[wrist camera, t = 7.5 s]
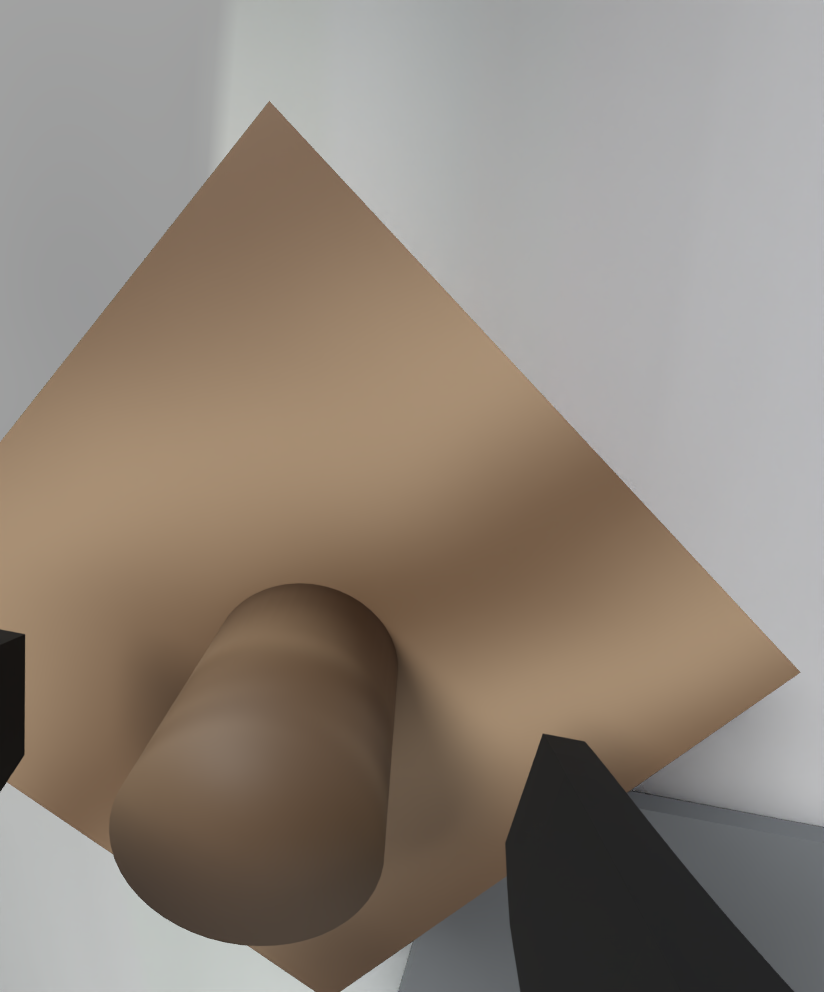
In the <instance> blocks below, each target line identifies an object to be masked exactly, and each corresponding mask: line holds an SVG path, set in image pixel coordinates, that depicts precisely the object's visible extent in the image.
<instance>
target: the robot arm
mask: <svg viewBox="0 0 824 992" xmlns="http://www.w3.org/2000/svg"><path fill="white" fill-rule="evenodd" d="M24 755H25V634H22V633H17V632H12V631H6V630H1V629H0V791H1V790H2V788H3V787H4V785H5V784H6V782H7V781H8V779H9V778H10V776H11V775H12V773H13V772H14V770H15V769H16V767H17V766H18V764H19V763H20V761H21V760H22V758H23V757H24ZM505 850H506V872H507V891H508V907H509V922H510V930H511V936H512V943H513V949H514V956H515V962H516V968H517V974H518V981H519V987H520V992H794V991H793V990H792V989H791V988H790V986H789V985H788V984H787V983H786V982H785V981H784V980H783V979H782V978H781V976H780V975H779V974H778V973H777V972H776V971H775V970H774V969H773V967H772V966H771V965H770V964H769V963H768V962H767V961H766V960H765V959H764V957H763V956H762V955H761V954H760V953H759V952H758V951H757V950H756V948H755V947H754V946H753V945H752V944H751V943H750V942H749V941H748V939H747V938H746V937H745V936H744V935H743V934H742V933H741V932H740V930H739V929H738V928H737V927H736V926H735V925H734V924H733V922H732V921H731V920H730V919H729V918H728V917H727V915H726V914H725V913H724V912H723V911H722V910H721V908H720V907H719V906H718V905H717V904H716V903H715V901H714V900H713V899H712V898H711V897H710V895H709V894H708V893H707V892H706V891H705V890H704V888H703V887H702V886H701V885H700V884H699V882H698V881H697V880H696V879H695V878H694V876H693V875H692V874H691V873H690V871H689V870H688V869H687V868H686V867H685V865H684V864H683V863H682V862H681V860H680V859H679V858H678V857H677V856H676V854H675V853H674V852H673V851H672V849H671V848H670V847H669V846H668V844H667V843H666V842H665V841H664V839H663V838H662V837H661V836H660V834H659V833H658V832H657V831H656V830H655V828H654V827H653V826H652V824H651V823H650V822H649V821H648V819H647V818H646V817H645V816H644V814H643V813H642V812H641V811H640V809H639V808H638V807H637V806H636V804H635V803H634V802H633V800H632V799H631V798H630V797H629V795H628V794H627V793H626V792H625V790H624V789H623V788H622V786H621V785H620V784H619V783H618V781H617V780H616V779H615V778H614V776H613V775H612V774H611V773H610V771H609V770H608V769H607V768H606V766H605V765H604V764H603V763H602V761H601V760H600V759H599V758H598V756H597V755H596V754H595V753H594V752H593V750H592V749H591V748H590V747H589V746H588V744H587V743H586V742H585V741H580V740H575V739H570V738H565V737H559V736H554V735H549V734H544V733H543V734H542V737H541V740H540V743H539V746H538V749H537V752H536V755H535V758H534V760H533V763H532V766H531V769H530V772H529V775H528V778H527V781H526V784H525V787H524V790H523V792H522V795H521V798H520V801H519V804H518V807H517V810H516V813H515V816H514V819H513V822H512V824H511V827H510V830H509V833H508V836H507V839H506V842H505Z"/></svg>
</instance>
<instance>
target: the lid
mask: <svg viewBox="0 0 824 992" xmlns="http://www.w3.org/2000/svg"><path fill="white" fill-rule="evenodd" d="M0 629H1V630H6V631H12V632H17V633H22V634H25V755H24V757H23V758H22V760H21V761H20V763H19V764H18V766H17V767H16V769H15V770H14V772H13V773H12V775H11V776H10V778H9V779H8V781H7V783H9V784H10V785H12V786H13V787H15V788H16V789H18V790H19V791H21V792H22V793H24V794H25V795H27V796H28V797H29V798H31V799H32V800H34V801H35V802H37V803H38V804H40V805H41V806H43V807H44V808H46V809H47V810H49V811H50V812H52V813H53V814H55V815H56V816H57V817H59V818H60V819H62V820H63V821H65V822H66V823H68V824H69V825H71V826H72V827H74V828H75V829H77V830H78V831H80V832H81V833H82V834H84V835H85V836H87V837H88V838H90V839H91V840H93V841H94V842H96V843H97V844H99V845H100V846H102V847H103V848H105V849H106V850H108V851H109V852H110V853H112V854H113V855H114V859H115V861H116V863H117V865H118V867H119V870H120V872H121V873H122V875H123V877H124V878H125V880H126V881H127V883H128V884H129V886H130V887H131V888H132V889H133V890H134V891H135V893H136V894H137V895H138V896H139V897H140V898H141V899H142V900H143V901H144V902H145V903H146V904H147V905H148V906H149V907H151V908H152V909H153V910H155V911H156V912H157V913H159V914H160V915H161V916H163V917H164V918H166V919H168V920H169V921H171V922H173V923H174V924H176V925H178V926H180V927H182V928H184V929H186V930H188V931H191V932H193V933H196V934H198V935H201V936H204V937H207V938H210V939H214V940H218V941H222V942H226V943H232V944H238V945H247V946H249V947H250V948H252V949H253V950H255V951H256V952H258V953H259V954H261V955H262V956H264V957H265V958H267V959H268V960H270V961H271V962H272V963H274V964H275V965H277V966H278V967H280V968H281V969H283V970H284V971H286V972H287V973H289V974H290V975H292V976H293V977H295V978H296V979H298V980H299V981H300V982H302V983H303V984H305V985H306V986H308V987H309V988H311V989H312V990H314V991H315V992H340V991H342V990H343V989H345V988H346V987H348V986H349V985H350V984H352V983H353V982H355V981H356V980H358V979H359V978H361V977H362V976H363V975H365V974H366V973H368V972H369V971H371V970H372V969H374V968H375V967H376V966H378V965H379V964H381V963H382V962H384V961H385V960H386V959H388V958H389V957H391V956H392V955H394V954H395V953H397V952H398V951H399V950H401V949H402V948H404V947H405V946H407V945H408V944H410V943H411V942H412V941H414V940H415V939H417V938H418V937H420V936H421V935H423V934H424V933H425V932H427V931H428V930H430V929H431V928H433V927H434V926H435V925H437V924H438V923H440V922H441V921H443V920H444V919H446V918H447V917H448V916H450V915H451V914H453V913H454V912H456V911H457V910H459V909H460V908H461V907H463V906H464V905H466V904H467V903H469V902H470V901H472V900H473V899H474V898H476V897H477V896H479V895H480V894H482V893H483V892H485V891H486V890H487V889H489V888H490V887H492V886H493V885H495V884H496V883H497V882H499V881H500V880H502V879H503V878H505V877H506V876H507V872H506V850H505V842H506V839H507V836H508V833H509V830H510V827H511V824H512V822H513V819H514V816H515V813H516V810H517V807H518V804H519V801H520V798H521V795H522V792H523V790H524V787H525V784H526V781H527V778H528V775H529V772H530V769H531V766H532V763H533V760H534V758H535V755H536V752H537V749H538V746H539V743H540V740H541V737H542V734H543V733H544V734H549V735H554V736H559V737H565V738H570V739H575V740H580V741H585V742H586V743H587V744H588V746H589V747H590V748H591V749H592V750H593V752H594V753H595V754H596V755H597V756H598V758H599V759H600V760H601V761H602V763H603V764H604V765H605V766H606V768H607V769H608V770H609V771H610V773H611V774H612V775H613V776H614V778H615V779H616V780H617V781H618V783H619V784H620V785H621V786H622V788H623V789H624V790H625V792H626V793H627V792H629V791H630V790H632V789H633V788H634V787H636V786H637V785H639V784H640V783H642V782H643V781H645V780H646V779H647V778H649V777H650V776H652V775H653V774H655V773H656V772H658V771H659V770H660V769H662V768H663V767H665V766H666V765H668V764H669V763H671V762H672V761H673V760H675V759H676V758H678V757H679V756H681V755H682V754H683V753H685V752H686V751H688V750H689V749H691V748H692V747H694V746H695V745H696V744H698V743H699V742H701V741H702V740H704V739H705V738H707V737H708V736H709V735H711V734H712V733H714V732H715V731H717V730H718V729H720V728H721V727H722V726H724V725H725V724H727V723H728V722H730V721H731V720H732V719H734V718H735V717H737V716H738V715H740V714H741V713H743V712H744V711H745V710H747V709H748V708H750V707H751V706H753V705H754V704H756V703H757V702H758V701H760V700H761V699H763V698H764V697H766V696H767V695H769V694H770V693H771V692H773V691H774V690H776V689H777V688H779V687H780V686H782V685H783V684H784V683H786V682H787V681H789V680H790V679H792V678H793V677H794V676H796V675H797V674H799V673H800V671H799V670H798V669H797V668H796V667H795V666H794V665H793V664H792V663H791V662H790V661H789V660H788V658H787V657H786V656H785V655H784V654H783V653H782V652H781V651H780V650H779V649H778V648H777V647H776V646H775V644H774V643H773V642H772V641H771V640H770V639H769V638H768V637H767V636H766V635H765V634H764V633H763V632H762V631H761V629H760V628H759V627H758V626H757V625H756V624H755V623H754V622H753V621H752V620H751V619H750V618H749V617H748V615H747V614H746V613H745V612H744V611H743V610H742V609H741V608H740V607H739V606H738V605H737V604H736V603H735V601H734V600H733V599H732V598H731V597H730V596H729V595H728V594H727V593H726V592H725V591H724V590H723V589H722V587H721V586H720V585H719V584H718V583H717V582H716V581H715V580H714V579H713V578H712V577H711V576H710V575H709V574H708V572H707V571H706V570H705V569H704V568H703V567H702V566H701V565H700V564H699V563H698V562H697V561H696V560H695V558H694V557H693V556H692V555H691V554H690V553H689V552H688V551H687V550H686V549H685V548H684V547H683V546H682V544H681V543H680V542H679V541H678V540H677V539H676V538H675V537H674V536H673V535H672V534H671V533H670V532H669V530H668V529H667V528H666V527H665V526H664V525H663V524H662V523H661V522H660V521H659V520H658V519H657V518H656V516H655V515H654V514H653V513H652V512H651V511H650V510H649V509H648V508H647V507H646V506H645V505H644V504H643V503H642V501H641V500H640V499H639V498H638V497H637V496H636V495H635V494H634V493H633V492H632V491H631V490H630V489H629V487H628V486H627V485H626V484H625V483H624V482H623V481H622V480H621V479H620V478H619V477H618V476H617V475H616V473H615V472H614V471H613V470H612V469H611V468H610V467H609V466H608V465H607V464H606V463H605V462H604V461H603V459H602V458H601V457H600V456H599V455H598V454H597V453H596V452H595V451H594V450H593V449H592V448H591V447H590V446H589V444H588V443H587V442H586V441H585V440H584V439H583V438H582V437H581V436H580V435H579V434H578V433H577V432H576V430H575V429H574V428H573V427H572V426H571V425H570V424H569V423H568V422H567V421H566V420H565V419H564V418H563V416H562V415H561V414H560V413H559V412H558V411H557V410H556V409H555V408H554V407H553V406H552V405H551V404H550V402H549V401H548V400H547V399H546V398H545V397H544V396H543V395H542V394H541V393H540V392H539V391H538V390H537V388H536V387H535V386H534V385H533V384H532V383H531V382H530V381H529V380H528V379H527V378H526V377H525V376H524V375H523V373H522V372H521V371H520V370H519V369H518V368H517V367H516V366H515V365H514V364H513V363H512V362H511V361H510V359H509V358H508V357H507V356H506V355H505V354H504V353H503V352H502V351H501V350H500V349H499V348H498V347H497V345H496V344H495V343H494V342H493V341H492V340H491V339H490V338H489V337H488V336H487V335H486V334H485V333H484V331H483V330H482V329H481V328H480V327H479V326H478V325H477V324H476V323H475V322H474V321H473V320H472V319H471V318H470V316H469V315H468V314H467V313H466V312H465V311H464V310H463V309H462V308H461V307H460V306H459V305H458V304H457V302H456V301H455V300H454V299H453V298H452V297H451V296H450V295H449V294H448V293H447V292H446V291H445V290H444V288H443V287H442V286H441V285H440V284H439V283H438V282H437V281H436V280H435V279H434V278H433V277H432V276H431V274H430V273H429V272H428V271H427V270H426V269H425V268H424V267H423V266H422V265H421V264H420V263H419V262H418V260H417V259H416V258H415V257H414V256H413V255H412V254H411V253H410V252H409V251H408V250H407V249H406V248H405V247H404V245H403V244H402V243H401V242H400V241H399V240H398V239H397V238H396V237H395V236H394V235H393V234H392V233H391V231H390V230H389V229H388V228H387V227H386V226H385V225H384V224H383V223H382V222H381V221H380V220H379V219H378V217H377V216H376V215H375V214H374V213H373V212H372V211H371V210H370V209H369V208H368V207H367V206H366V205H365V203H364V202H363V201H362V200H361V199H360V198H359V197H358V196H357V195H356V194H355V193H354V192H353V191H352V190H351V188H350V187H349V186H348V185H347V184H346V183H345V182H344V181H343V180H342V179H341V178H340V177H339V176H338V174H337V173H336V172H335V171H334V170H333V169H332V168H331V167H330V166H329V165H328V164H327V163H326V162H325V160H324V159H323V158H322V157H321V156H320V155H319V154H318V153H317V152H316V151H315V150H314V149H313V148H312V146H311V145H310V144H309V143H308V142H307V141H306V140H305V139H304V138H303V137H302V136H301V135H300V134H299V132H298V131H297V130H296V129H295V128H294V127H293V126H292V125H291V124H290V123H289V122H288V121H287V120H286V119H285V117H284V116H283V115H282V114H281V113H280V112H279V111H278V110H277V109H276V108H275V107H274V106H273V105H272V103H271V102H270V101H269V102H268V103H267V105H266V106H265V107H264V108H263V110H262V111H261V112H260V114H259V115H258V116H257V117H256V119H255V120H254V121H253V122H252V124H251V125H250V126H249V127H248V129H247V130H246V131H245V133H244V134H243V135H242V136H241V138H240V139H239V140H238V141H237V143H236V144H235V145H234V146H233V148H232V149H231V150H230V152H229V153H228V154H227V155H226V157H225V158H224V159H223V160H222V162H221V163H220V164H219V165H218V167H217V168H216V169H215V171H214V172H213V173H212V174H211V176H210V177H209V178H208V179H207V181H206V182H205V183H204V184H203V186H202V187H201V188H200V190H199V191H198V192H197V193H196V195H195V196H194V197H193V198H192V200H191V201H190V202H189V204H188V205H187V206H186V207H185V209H184V210H183V211H182V212H181V214H180V215H179V216H178V218H177V219H176V220H175V221H174V223H173V224H172V225H171V226H170V228H169V229H168V230H167V232H166V233H165V234H164V235H163V237H162V238H161V239H160V240H159V242H158V243H157V244H156V245H155V247H154V248H153V249H152V250H151V252H150V253H149V254H148V256H147V257H146V258H145V259H144V261H143V262H142V263H141V265H140V266H139V267H138V268H137V269H136V271H135V272H134V273H133V274H132V276H131V277H130V278H129V280H128V281H127V282H126V283H125V285H124V286H123V287H122V289H121V290H120V291H119V292H118V293H117V295H116V296H115V298H114V299H113V300H112V301H111V302H110V304H109V305H108V306H107V307H106V309H105V310H104V311H103V313H102V314H101V315H100V316H99V318H98V319H97V320H96V321H95V323H94V324H93V325H92V327H91V328H90V329H89V330H88V332H87V333H86V334H85V335H84V337H83V338H82V339H81V340H80V342H79V343H78V344H77V346H76V347H75V348H74V349H73V351H72V352H71V353H70V354H69V356H68V357H67V358H66V359H65V361H64V362H63V363H62V364H61V366H60V367H59V368H58V370H57V371H56V372H55V373H54V375H53V376H52V377H51V378H50V380H49V381H48V382H47V383H46V385H45V386H44V387H43V389H42V390H41V391H40V392H39V394H38V395H37V396H36V397H35V399H34V400H33V401H32V403H31V404H30V405H29V406H28V408H27V409H26V410H25V411H24V413H23V414H22V415H21V416H20V418H19V419H18V420H17V421H16V423H15V424H14V426H13V427H12V428H11V429H10V430H9V432H8V433H7V434H6V435H5V437H4V438H3V439H2V441H1V442H0Z"/></svg>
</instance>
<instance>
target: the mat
mask: <svg viewBox="0 0 824 992" xmlns="http://www.w3.org/2000/svg"><path fill="white" fill-rule="evenodd" d="M627 794H628V795H629V797H630V798H631V799H632V800H633V802H634V803H635V804H636V806H637V807H638V808H639V809H640V811H641V812H642V813H643V814H644V816H645V817H646V818H647V819H648V821H649V822H650V823H651V824H652V826H653V827H654V828H655V830H656V831H657V832H658V833H659V834H660V836H661V837H662V838H663V839H664V841H665V842H666V843H667V844H668V846H669V847H670V848H671V849H672V851H673V852H674V853H675V854H676V856H677V857H678V858H679V859H680V860H681V862H682V863H683V864H684V865H685V867H686V868H687V869H688V870H689V871H690V873H691V874H692V875H693V876H694V878H695V879H696V880H697V881H698V882H699V884H700V885H701V886H702V887H703V888H704V890H705V891H706V892H707V893H708V894H709V895H710V897H711V898H712V899H713V900H714V901H715V903H716V904H717V905H718V906H719V907H720V908H721V910H722V911H723V912H724V913H725V914H726V915H727V917H728V918H729V919H730V920H731V921H732V922H733V924H734V925H735V926H736V927H737V928H738V929H739V930H740V932H741V933H742V934H743V935H744V936H745V937H746V938H747V939H748V941H749V942H750V943H751V944H752V945H753V946H754V947H755V948H756V950H757V951H758V952H759V953H760V954H761V955H762V956H763V957H764V959H765V960H766V961H767V962H768V963H769V964H770V965H771V966H772V967H773V969H774V970H775V971H776V972H777V973H778V974H779V975H780V976H781V978H782V979H783V980H784V981H785V982H786V983H787V984H788V985H789V986H790V988H791V989H792V990H793V991H794V992H824V827H819V826H814V825H809V824H803V823H798V822H793V821H787V820H782V819H777V818H771V817H766V816H761V815H755V814H750V813H745V812H740V811H734V810H729V809H724V808H718V807H713V806H708V805H702V804H697V803H692V802H686V801H681V800H676V799H671V798H665V797H660V796H655V795H649V794H644V793H639V792H633V791H629V792H627ZM398 992H520V987H519V981H518V974H517V968H516V962H515V956H514V949H513V943H512V936H511V930H510V922H509V907H508V891H507V876H506V877H505V878H503V879H502V880H500V881H499V882H497V883H496V884H495V885H493V886H492V887H490V888H489V889H487V890H486V891H485V892H483V893H482V894H480V895H479V896H477V897H476V898H474V899H473V900H472V901H470V902H469V903H467V904H466V905H464V906H463V907H461V908H460V909H459V910H457V911H456V912H454V913H453V914H451V915H450V916H448V917H447V918H446V919H444V920H443V921H441V922H440V923H438V924H437V925H435V926H434V927H433V928H431V929H430V930H428V931H427V932H425V933H424V934H423V935H421V936H420V937H418V938H417V939H415V940H414V941H413V944H412V947H411V951H410V954H409V957H408V961H407V964H406V967H405V971H404V974H403V977H402V981H401V984H400V987H399V991H398Z"/></svg>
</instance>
